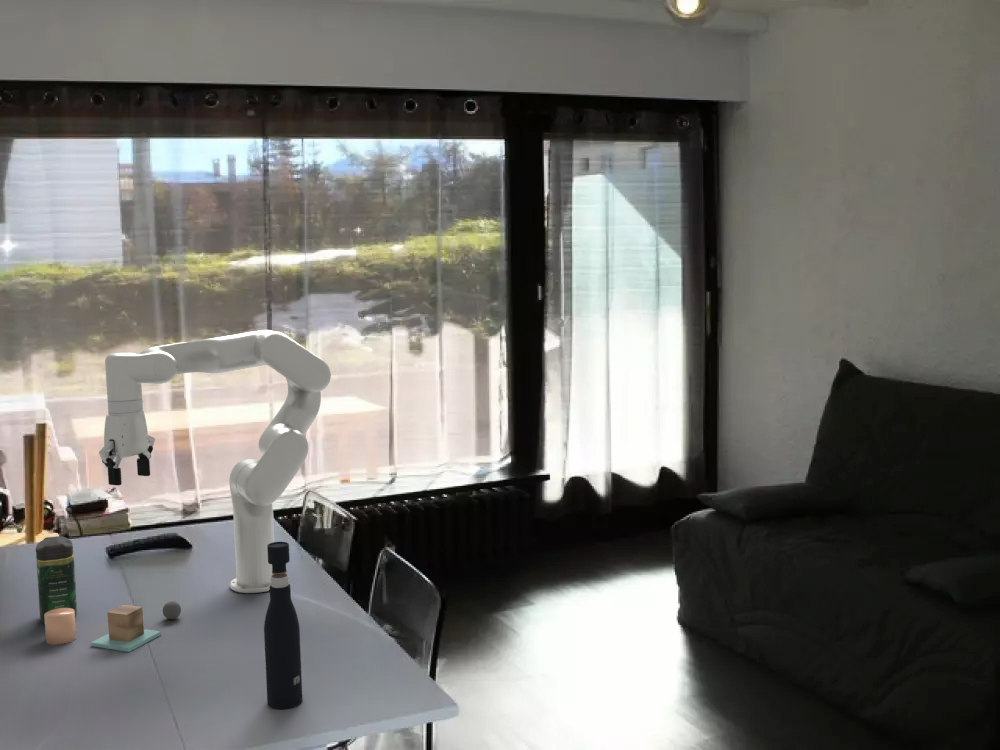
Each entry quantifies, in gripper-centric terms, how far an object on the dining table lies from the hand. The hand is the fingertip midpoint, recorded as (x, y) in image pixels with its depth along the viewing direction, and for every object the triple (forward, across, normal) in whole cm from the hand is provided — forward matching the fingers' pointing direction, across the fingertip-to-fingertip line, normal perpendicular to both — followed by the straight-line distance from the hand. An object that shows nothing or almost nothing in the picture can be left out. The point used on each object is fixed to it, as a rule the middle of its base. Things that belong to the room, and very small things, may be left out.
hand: (129, 480), depth 244 cm
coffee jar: (+31, +12, -12) cm, 35 cm away
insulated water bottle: (+31, +33, +61) cm, 76 cm away
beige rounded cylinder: (+30, +22, -2) cm, 38 cm away
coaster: (+30, +18, +12) cm, 37 cm away
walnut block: (+30, +18, +12) cm, 36 cm away
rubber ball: (+28, +4, +13) cm, 31 cm away
